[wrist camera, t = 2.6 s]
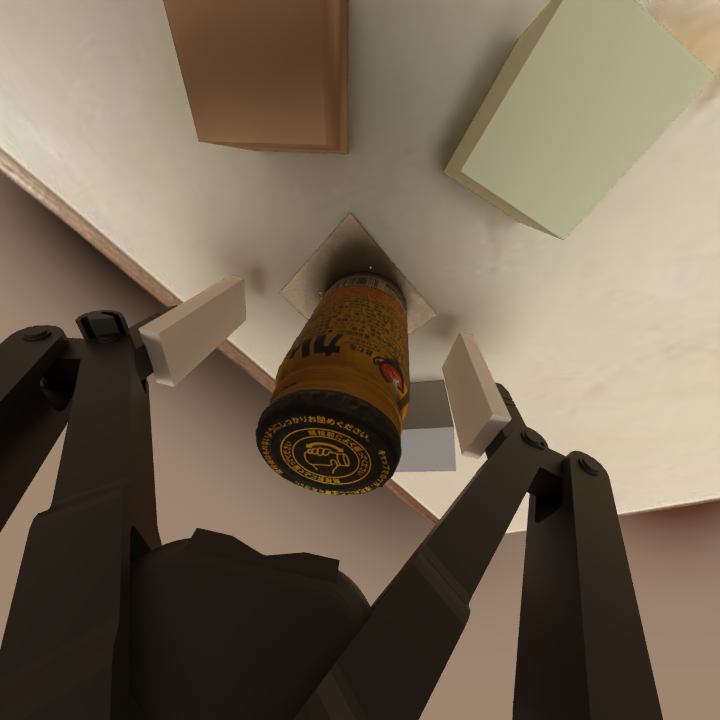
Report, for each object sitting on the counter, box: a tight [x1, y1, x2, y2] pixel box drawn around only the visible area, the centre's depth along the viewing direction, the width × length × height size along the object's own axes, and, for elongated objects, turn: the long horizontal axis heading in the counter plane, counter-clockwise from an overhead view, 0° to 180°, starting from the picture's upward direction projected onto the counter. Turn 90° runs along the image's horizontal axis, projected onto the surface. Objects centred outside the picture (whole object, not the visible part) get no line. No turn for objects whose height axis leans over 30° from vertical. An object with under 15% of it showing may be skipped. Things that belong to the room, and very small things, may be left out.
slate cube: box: [395, 380, 456, 472], centre depth 21 cm, size 5×5×5 cm
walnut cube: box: [163, 0, 348, 154], centre depth 10 cm, size 5×5×5 cm
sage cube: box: [443, 0, 716, 240], centre depth 11 cm, size 5×5×5 cm
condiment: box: [256, 213, 436, 495], centre depth 13 cm, size 7×8×12 cm
